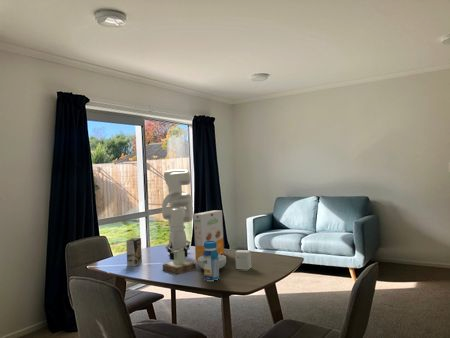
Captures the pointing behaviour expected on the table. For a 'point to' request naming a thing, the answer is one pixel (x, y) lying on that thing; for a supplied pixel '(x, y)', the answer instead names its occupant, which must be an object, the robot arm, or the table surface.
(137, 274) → the table surface
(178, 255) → the block
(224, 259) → the cereal bowl
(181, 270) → the base
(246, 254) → the small box
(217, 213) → the cereal box
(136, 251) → the coffee box
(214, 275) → the beverage bottle
